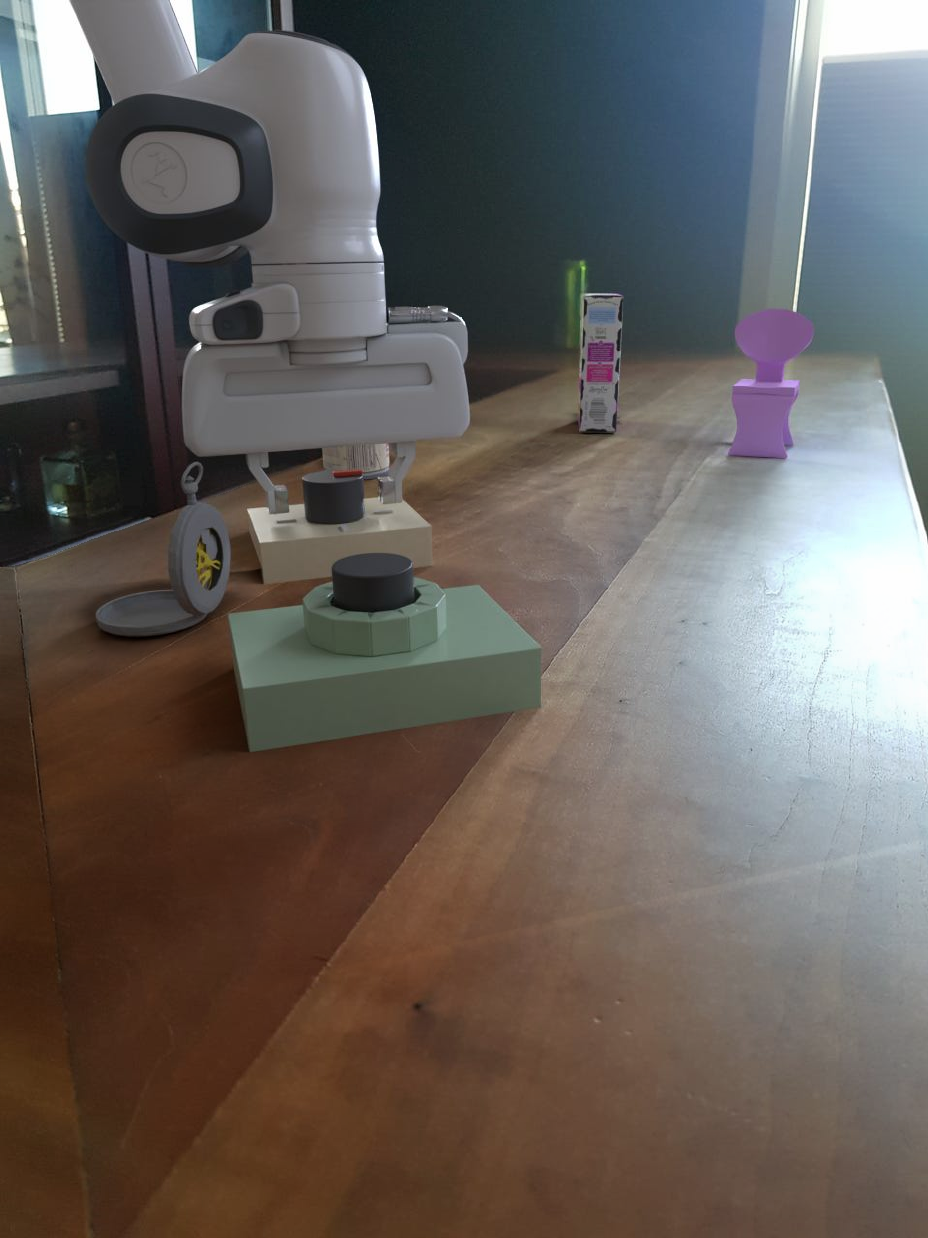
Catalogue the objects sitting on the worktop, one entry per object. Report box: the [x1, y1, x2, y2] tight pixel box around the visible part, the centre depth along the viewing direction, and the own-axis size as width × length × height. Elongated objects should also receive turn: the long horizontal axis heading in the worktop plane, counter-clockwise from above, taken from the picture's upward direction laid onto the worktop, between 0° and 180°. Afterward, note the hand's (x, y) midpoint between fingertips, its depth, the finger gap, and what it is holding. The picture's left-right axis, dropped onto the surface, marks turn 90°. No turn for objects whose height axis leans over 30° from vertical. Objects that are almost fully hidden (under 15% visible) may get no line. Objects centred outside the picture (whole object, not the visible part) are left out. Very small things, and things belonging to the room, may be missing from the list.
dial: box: [301, 469, 365, 524], centre depth 69 cm, size 4×4×3 cm
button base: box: [227, 576, 543, 753], centre depth 48 cm, size 14×10×5 cm
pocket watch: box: [95, 461, 231, 638], centre depth 56 cm, size 8×8×10 cm
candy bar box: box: [577, 292, 624, 434], centre depth 120 cm, size 11×5×16 cm, turn 174°
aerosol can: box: [321, 443, 391, 481], centre depth 95 cm, size 7×7×20 cm
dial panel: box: [246, 497, 433, 585], centre depth 70 cm, size 12×10×3 cm
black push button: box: [331, 553, 415, 613], centre depth 47 cm, size 4×4×2 cm
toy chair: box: [727, 308, 815, 459], centre depth 103 cm, size 8×9×15 cm
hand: (335, 507), depth 69 cm, fingers open, 7 cm apart
